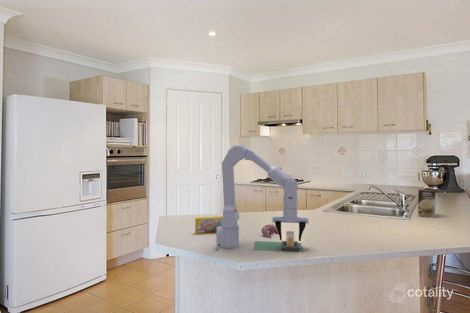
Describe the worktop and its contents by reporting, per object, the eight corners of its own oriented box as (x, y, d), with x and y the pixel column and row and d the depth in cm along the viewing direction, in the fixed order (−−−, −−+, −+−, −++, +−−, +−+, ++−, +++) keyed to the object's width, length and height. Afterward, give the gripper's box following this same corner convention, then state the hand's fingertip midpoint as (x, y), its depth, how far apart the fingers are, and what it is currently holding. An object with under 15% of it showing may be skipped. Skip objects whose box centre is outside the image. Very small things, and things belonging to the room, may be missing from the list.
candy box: (195, 234, 151) (195, 218, 151) (195, 233, 153) (195, 217, 153) (227, 233, 154) (227, 216, 154) (227, 231, 156) (227, 215, 156)
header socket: (281, 251, 123) (281, 247, 123) (281, 244, 132) (281, 240, 132) (299, 252, 122) (299, 248, 122) (297, 244, 131) (297, 241, 131)
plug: (286, 250, 124) (286, 234, 124) (286, 246, 129) (286, 231, 129) (294, 250, 124) (294, 234, 124) (293, 246, 129) (293, 231, 129)
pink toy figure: (274, 237, 151) (269, 224, 153) (282, 234, 148) (276, 221, 150) (263, 242, 143) (258, 228, 145) (271, 239, 141) (265, 225, 143)
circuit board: (252, 252, 125) (252, 249, 125) (255, 243, 137) (255, 241, 137) (303, 254, 122) (303, 252, 122) (301, 245, 134) (301, 243, 134)
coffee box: (417, 216, 190) (417, 190, 189) (417, 214, 195) (418, 189, 195) (435, 218, 185) (435, 191, 184) (435, 216, 190) (435, 190, 190)
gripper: (272, 208, 124) (272, 242, 124) (309, 209, 122) (309, 243, 122) (272, 205, 131) (272, 237, 131) (307, 206, 129) (307, 238, 129)
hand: (290, 240), depth 127 cm, fingers open, 7 cm apart
